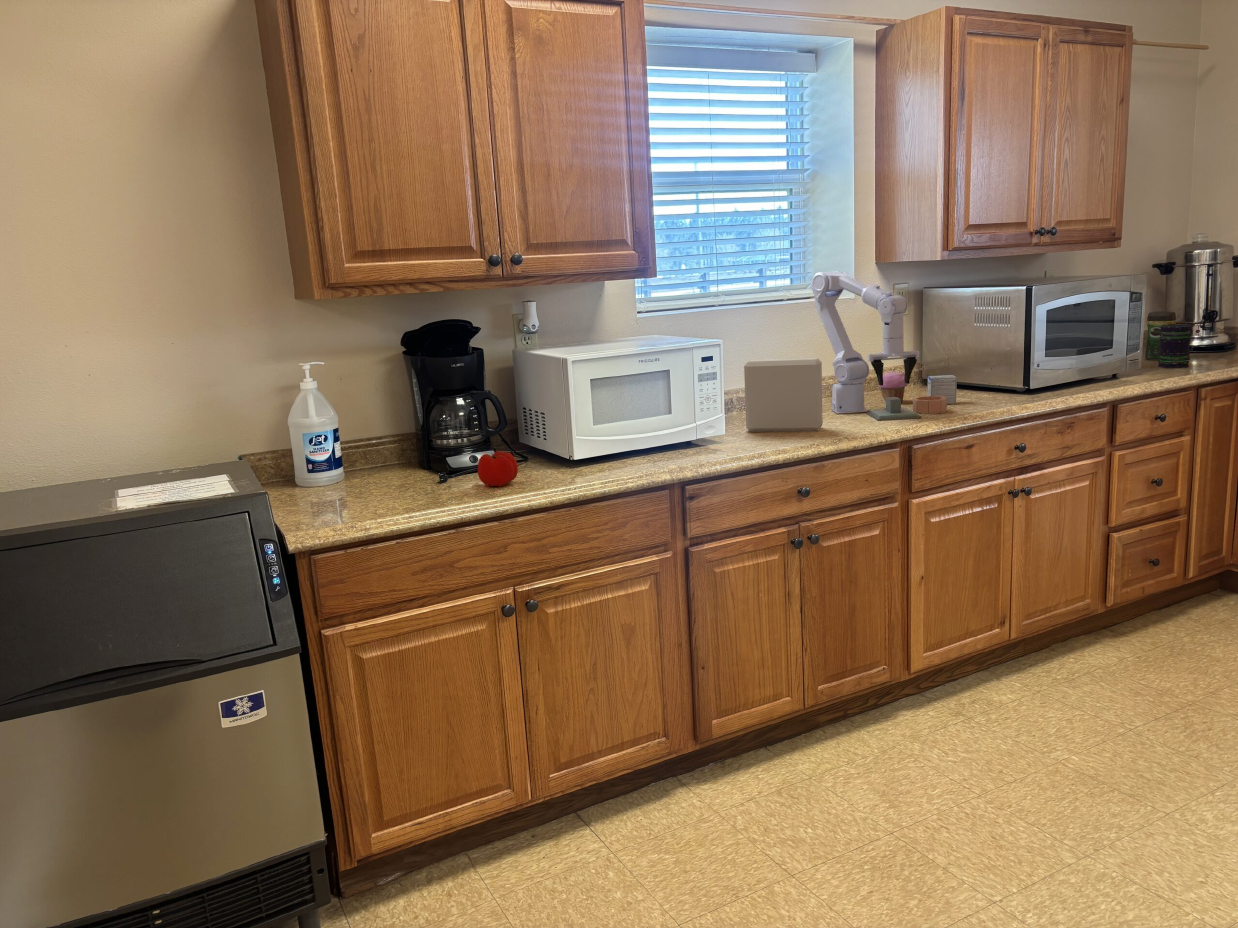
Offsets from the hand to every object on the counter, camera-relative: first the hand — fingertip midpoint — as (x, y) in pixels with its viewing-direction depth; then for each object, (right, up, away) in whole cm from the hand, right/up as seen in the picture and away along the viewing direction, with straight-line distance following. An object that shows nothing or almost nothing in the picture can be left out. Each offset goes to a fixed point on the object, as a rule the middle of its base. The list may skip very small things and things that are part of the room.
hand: (893, 384), depth 264 cm
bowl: (+12, -8, +6) cm, 16 cm away
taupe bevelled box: (-34, -14, -8) cm, 37 cm away
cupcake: (+8, -4, +26) cm, 28 cm away
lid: (0, -9, +2) cm, 9 cm away
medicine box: (+21, -5, +18) cm, 28 cm away
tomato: (-109, -29, -53) cm, 125 cm away
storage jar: (+122, +12, +64) cm, 138 cm away
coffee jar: (+130, +17, +87) cm, 157 cm away
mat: (0, -9, +2) cm, 10 cm away
